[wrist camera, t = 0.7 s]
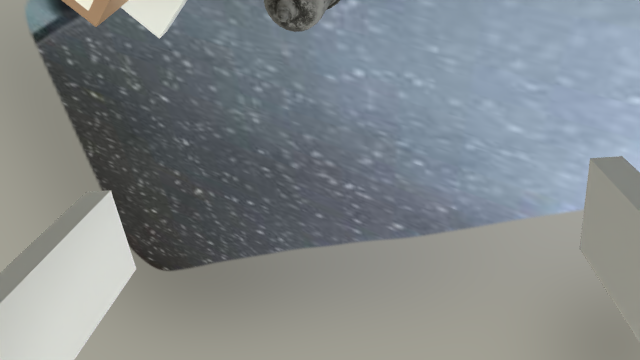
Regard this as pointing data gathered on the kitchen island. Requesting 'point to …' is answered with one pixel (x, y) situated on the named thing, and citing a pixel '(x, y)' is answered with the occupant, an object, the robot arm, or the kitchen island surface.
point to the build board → (131, 11)
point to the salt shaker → (297, 12)
